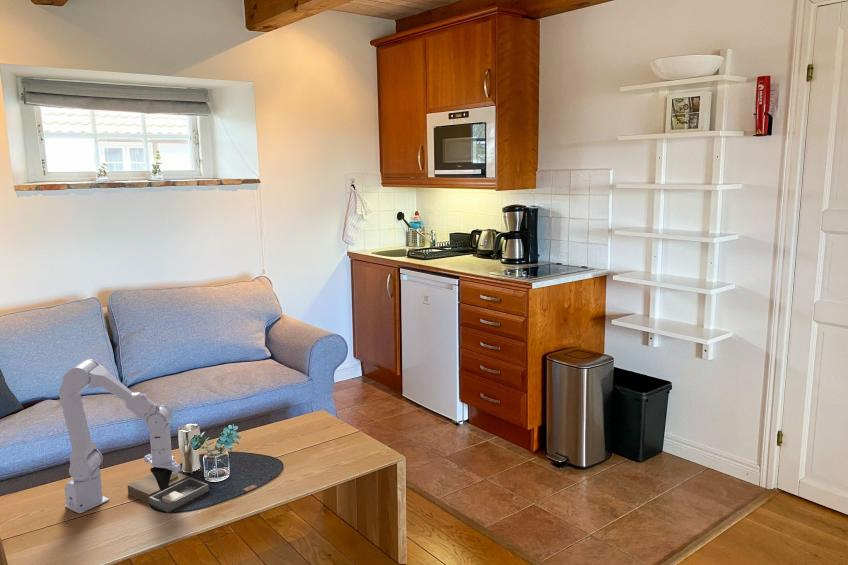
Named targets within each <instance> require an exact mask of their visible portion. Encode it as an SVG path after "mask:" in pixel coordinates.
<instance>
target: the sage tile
mask: <svg viewBox="0 0 848 565" xmlns="http://www.w3.org/2000/svg"><path fill="white" fill-rule="evenodd" d="M178 473H179V472H177V473H173V472H172V474H171V477H170V480H171V479H173V478H175V477H178Z"/></svg>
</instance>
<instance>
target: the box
mask: <svg viewBox="0 0 848 565" xmlns="http://www.w3.org/2000/svg"><path fill="white" fill-rule="evenodd" d="M186 486H188V487H192V488H185V487H186ZM209 486H210V485H209V484H208V483H206V482H203V481H201V480H198V479H196V478H193V477H188V479H186V480H184V481H181V482H179V483H177V484H175V485H173V486H171V487H169V488H167V489H165V490H163V491H161V492H158V493H156V494H154V495H152V496H150V497H149V503H148V505H149V506H151V507H154V508H156V509H159V510H160V511H163V512H166V513H171V512H173V511H174V510H176V509H178V508H180V507H182V506H184V505H186V504H188V503H190V502H192V501H193V500H196V499H198V498H200V497H201V496H200V495H202V494H203V493H205V492H207V491H210V488H209ZM193 487H196V488H193ZM174 491H176V492H178V493H181V494H183V495H184V496H182V497H180V498H178V499H176V500H174V501H172V502H170V503H165V502H163V501H162V497H163V496H166V495H168V494H170V493H172V492H174ZM199 496H200V497H199ZM202 496H203V495H202ZM197 497H198V498H197ZM195 498H196V499H195Z"/></svg>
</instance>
